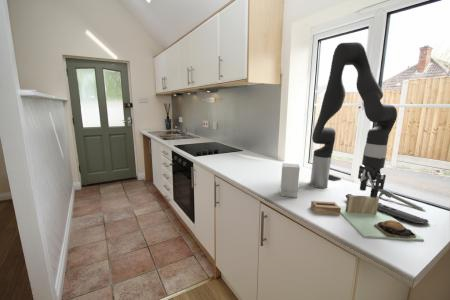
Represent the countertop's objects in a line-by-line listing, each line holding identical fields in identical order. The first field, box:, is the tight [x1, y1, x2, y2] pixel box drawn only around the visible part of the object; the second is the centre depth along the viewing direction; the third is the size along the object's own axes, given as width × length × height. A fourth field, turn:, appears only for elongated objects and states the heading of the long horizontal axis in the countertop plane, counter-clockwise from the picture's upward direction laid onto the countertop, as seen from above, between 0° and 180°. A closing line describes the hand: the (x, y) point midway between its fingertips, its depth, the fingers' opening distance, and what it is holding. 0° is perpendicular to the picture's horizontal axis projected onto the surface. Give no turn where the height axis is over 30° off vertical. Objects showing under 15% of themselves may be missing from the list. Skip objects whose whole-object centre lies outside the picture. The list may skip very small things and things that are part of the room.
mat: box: [338, 205, 425, 242], centre depth 88 cm, size 24×20×1 cm
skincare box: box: [280, 162, 301, 199], centre depth 111 cm, size 8×7×16 cm
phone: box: [328, 173, 342, 182], centre depth 145 cm, size 8×1×15 cm
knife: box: [345, 193, 429, 224], centre depth 98 cm, size 9×2×30 cm
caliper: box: [377, 188, 426, 212], centre depth 107 cm, size 20×1×6 cm, turn 35°
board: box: [345, 194, 380, 214], centre depth 94 cm, size 2×7×12 cm
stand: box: [310, 200, 341, 216], centre depth 96 cm, size 6×10×3 cm, turn 87°
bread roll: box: [374, 220, 416, 238], centre depth 80 cm, size 11×8×4 cm
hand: (367, 193), depth 92 cm, fingers open, 7 cm apart
